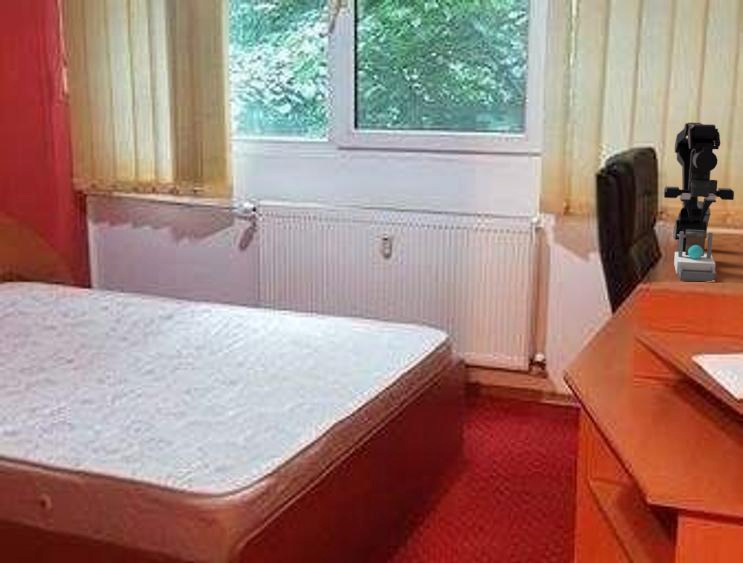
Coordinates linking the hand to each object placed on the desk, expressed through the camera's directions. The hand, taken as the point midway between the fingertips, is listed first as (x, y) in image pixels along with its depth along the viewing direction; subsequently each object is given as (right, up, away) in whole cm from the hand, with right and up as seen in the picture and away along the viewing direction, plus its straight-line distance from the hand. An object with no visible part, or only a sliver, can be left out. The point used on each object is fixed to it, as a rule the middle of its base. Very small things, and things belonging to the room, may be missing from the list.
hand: (696, 223), depth 269 cm
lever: (0, -9, +1) cm, 9 cm away
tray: (-4, -16, -13) cm, 21 cm away
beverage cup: (+12, -7, +33) cm, 36 cm away
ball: (-2, -9, -4) cm, 10 cm away
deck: (-1, -13, 0) cm, 13 cm away
